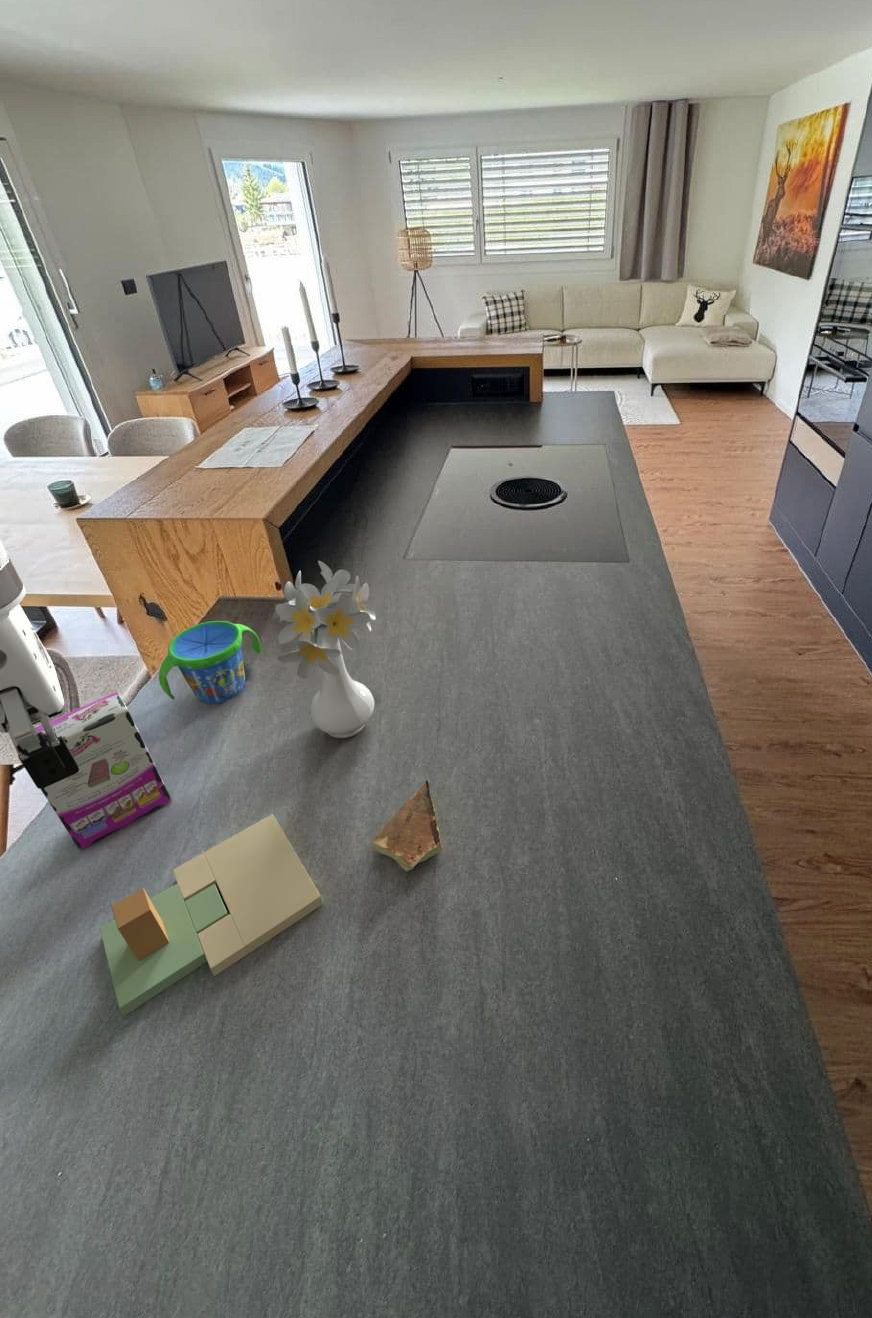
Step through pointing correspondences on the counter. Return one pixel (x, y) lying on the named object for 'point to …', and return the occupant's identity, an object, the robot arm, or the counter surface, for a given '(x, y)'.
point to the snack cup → (209, 660)
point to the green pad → (170, 955)
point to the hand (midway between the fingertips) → (51, 746)
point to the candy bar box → (104, 772)
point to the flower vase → (329, 647)
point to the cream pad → (249, 890)
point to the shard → (411, 832)
